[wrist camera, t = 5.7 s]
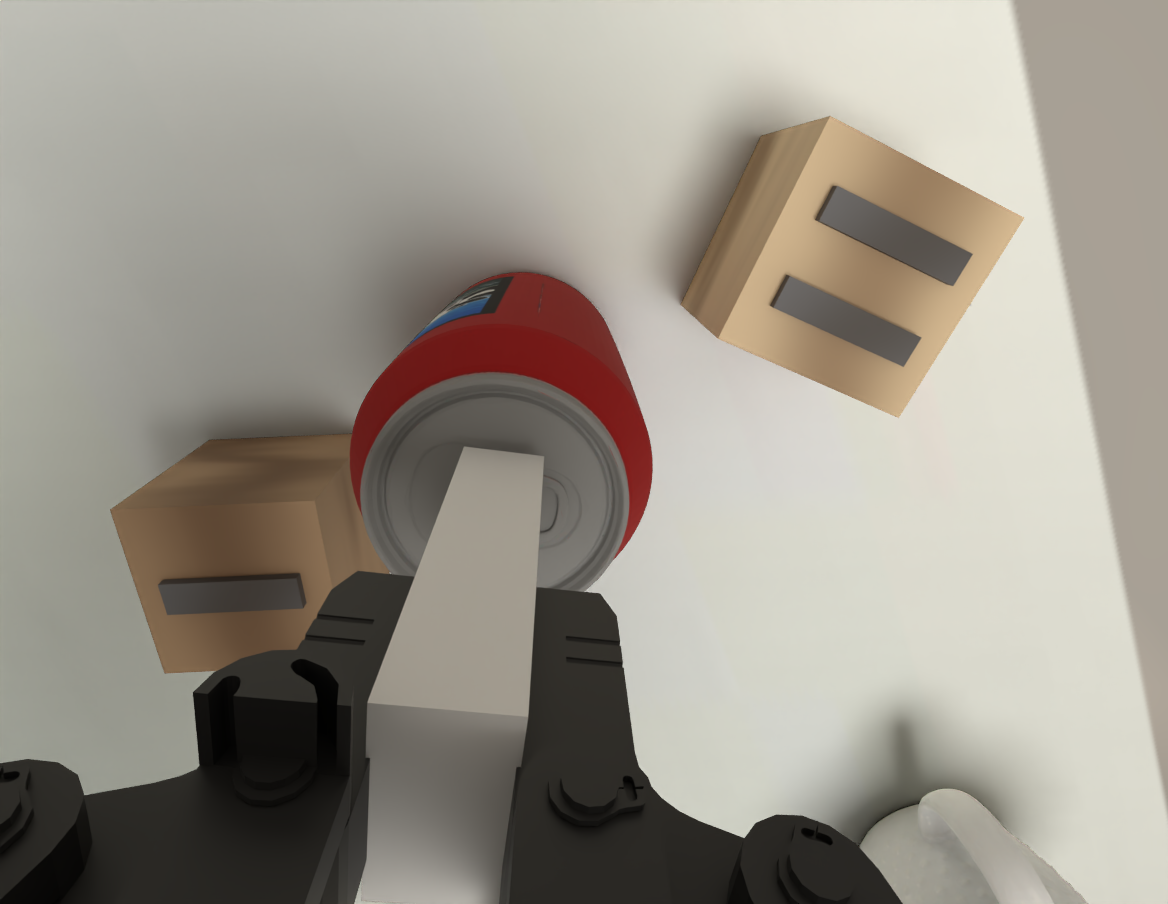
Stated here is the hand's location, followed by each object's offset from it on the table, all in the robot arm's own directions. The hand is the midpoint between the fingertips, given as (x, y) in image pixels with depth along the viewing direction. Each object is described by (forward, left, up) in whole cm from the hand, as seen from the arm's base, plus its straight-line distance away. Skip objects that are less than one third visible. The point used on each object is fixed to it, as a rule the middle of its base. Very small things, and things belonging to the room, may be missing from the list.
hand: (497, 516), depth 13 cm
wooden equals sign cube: (+9, +5, -13) cm, 16 cm away
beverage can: (0, 0, -13) cm, 13 cm away
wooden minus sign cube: (-8, -7, -13) cm, 17 cm away
